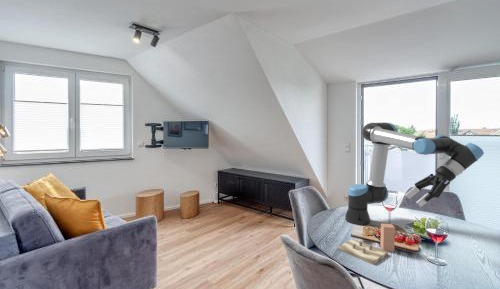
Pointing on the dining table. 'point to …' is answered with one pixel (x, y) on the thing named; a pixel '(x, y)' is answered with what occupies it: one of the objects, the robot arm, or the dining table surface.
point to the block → (387, 237)
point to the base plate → (363, 251)
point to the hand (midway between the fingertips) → (412, 200)
